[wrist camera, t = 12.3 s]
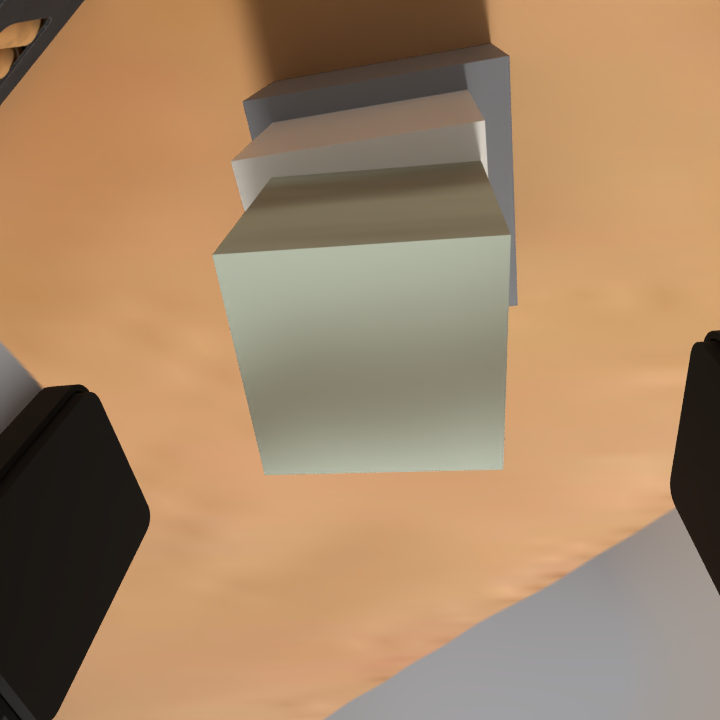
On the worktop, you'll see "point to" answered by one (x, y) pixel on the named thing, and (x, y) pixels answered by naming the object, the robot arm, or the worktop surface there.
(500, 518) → the worktop surface
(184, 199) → the worktop surface
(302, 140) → the tower top
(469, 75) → the tower base
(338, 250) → the sage block
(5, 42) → the ammunition clip
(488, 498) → the worktop surface
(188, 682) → the worktop surface
